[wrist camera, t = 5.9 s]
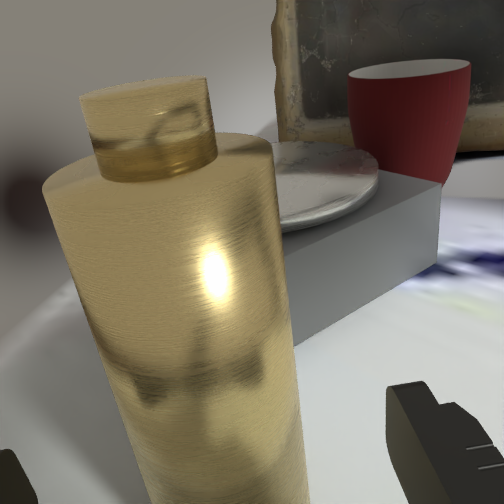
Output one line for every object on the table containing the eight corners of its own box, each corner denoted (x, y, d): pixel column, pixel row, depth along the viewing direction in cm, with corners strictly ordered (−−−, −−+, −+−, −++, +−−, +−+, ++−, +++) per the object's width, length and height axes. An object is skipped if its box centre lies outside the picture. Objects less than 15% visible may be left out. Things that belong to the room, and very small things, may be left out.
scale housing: (283, 205, 39) (277, 147, 37) (436, 262, 28) (441, 183, 26) (128, 267, 33) (109, 200, 30) (247, 373, 21) (232, 281, 19)
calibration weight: (252, 423, 19) (191, 65, 13) (342, 514, 15) (316, 66, 9) (139, 497, 16) (-6, 103, 10) (210, 627, 13) (50, 127, 6)
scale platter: (281, 146, 36) (280, 132, 35) (428, 177, 26) (429, 160, 25) (121, 197, 29) (117, 182, 29) (234, 264, 20) (230, 243, 19)
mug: (357, 177, 43) (354, 62, 38) (451, 174, 41) (461, 51, 36) (345, 225, 34) (340, 83, 30) (465, 226, 32) (480, 70, 27)
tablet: (281, 184, 44) (246, -152, 33) (281, 146, 56) (256, -109, 45) (653, 147, 41) (760, -245, 29) (567, 115, 53) (618, -170, 41)
